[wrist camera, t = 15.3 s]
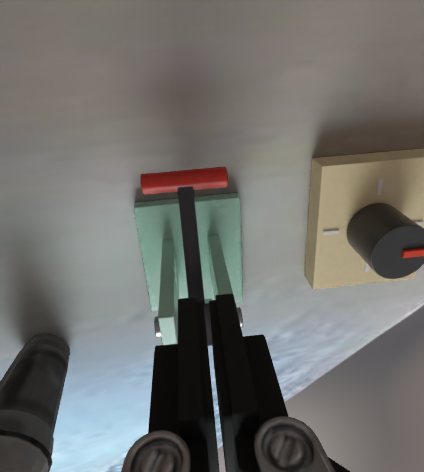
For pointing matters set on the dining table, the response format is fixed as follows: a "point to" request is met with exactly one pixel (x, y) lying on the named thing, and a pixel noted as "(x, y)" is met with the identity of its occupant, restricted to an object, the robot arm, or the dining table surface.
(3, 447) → the beverage cup
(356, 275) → the panel
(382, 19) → the dining table surface
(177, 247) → the bracket
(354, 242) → the knob
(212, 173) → the lever
